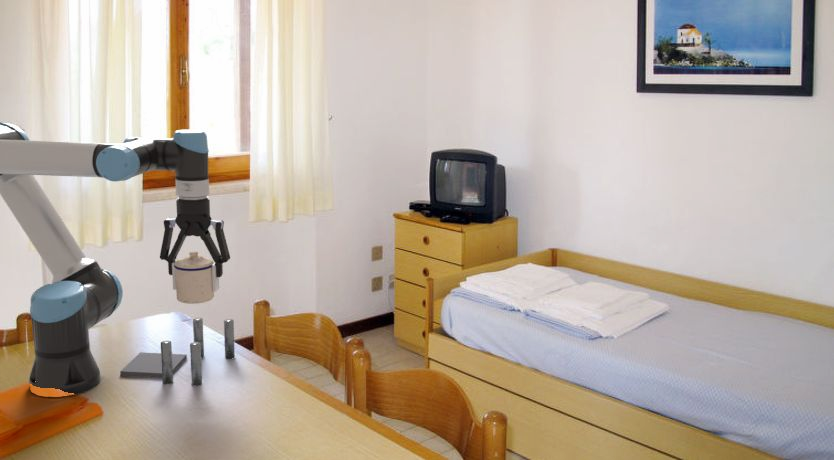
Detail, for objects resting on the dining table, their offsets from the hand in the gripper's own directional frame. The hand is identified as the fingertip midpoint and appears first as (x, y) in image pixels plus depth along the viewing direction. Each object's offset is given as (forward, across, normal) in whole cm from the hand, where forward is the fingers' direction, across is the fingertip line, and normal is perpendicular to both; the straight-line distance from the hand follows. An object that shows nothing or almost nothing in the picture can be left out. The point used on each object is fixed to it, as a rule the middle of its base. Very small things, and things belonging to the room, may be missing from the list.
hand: (196, 288), depth 189 cm
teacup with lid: (+2, -1, 0) cm, 3 cm away
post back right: (+21, +5, +8) cm, 23 cm away
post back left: (+21, -3, +8) cm, 23 cm away
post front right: (+21, +2, -8) cm, 22 cm away
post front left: (+21, -5, -8) cm, 23 cm away
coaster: (+21, -11, 0) cm, 24 cm away
